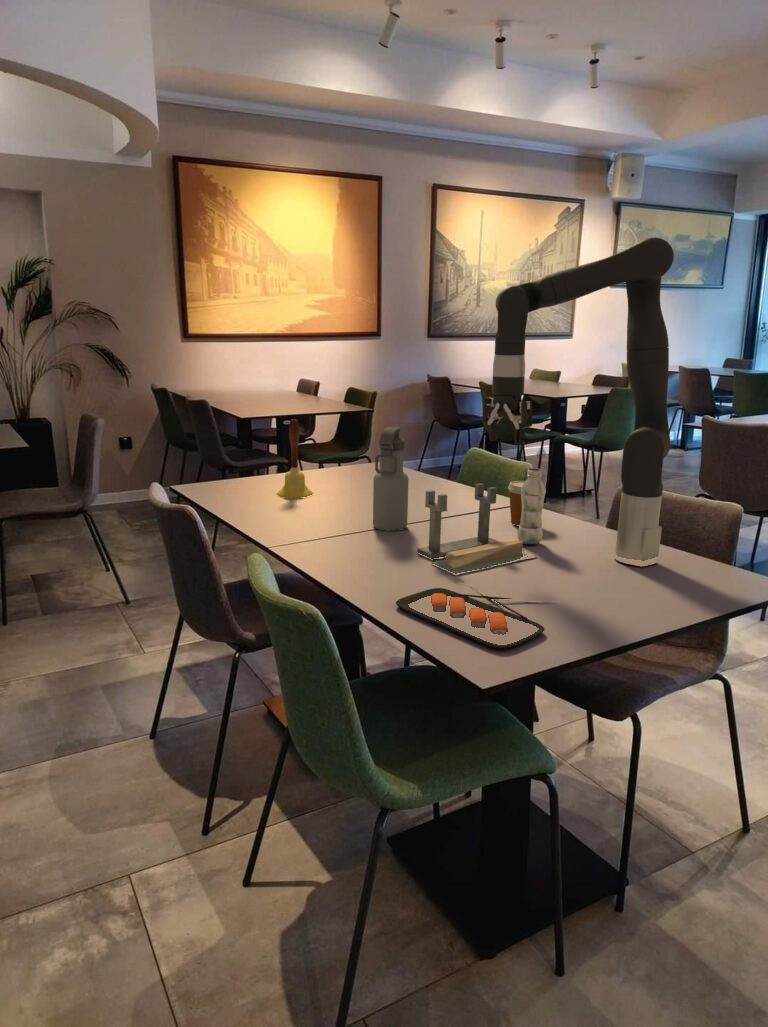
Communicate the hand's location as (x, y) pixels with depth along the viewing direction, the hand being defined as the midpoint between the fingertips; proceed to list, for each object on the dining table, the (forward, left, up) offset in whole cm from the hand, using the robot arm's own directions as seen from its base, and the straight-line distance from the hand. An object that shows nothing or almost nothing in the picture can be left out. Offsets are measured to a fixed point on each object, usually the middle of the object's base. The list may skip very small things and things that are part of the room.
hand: (505, 442), depth 174 cm
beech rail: (-2, +7, -28) cm, 29 cm away
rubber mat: (-3, +7, -28) cm, 29 cm away
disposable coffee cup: (+17, -25, -29) cm, 42 cm away
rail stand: (+7, +7, -28) cm, 30 cm away
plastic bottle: (+2, -13, -29) cm, 32 cm away
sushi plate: (-27, +27, -29) cm, 48 cm away
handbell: (+83, +15, -29) cm, 89 cm away
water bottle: (+34, +10, -29) cm, 46 cm away
